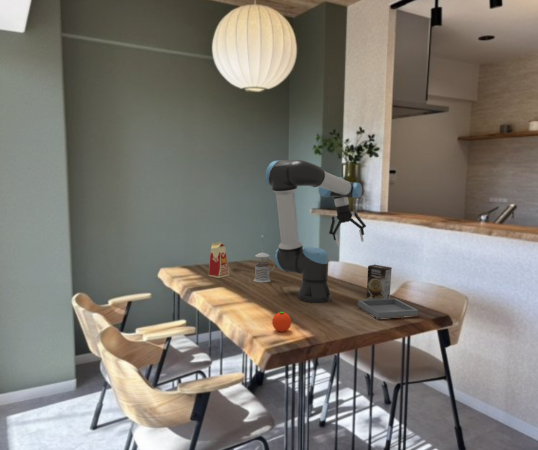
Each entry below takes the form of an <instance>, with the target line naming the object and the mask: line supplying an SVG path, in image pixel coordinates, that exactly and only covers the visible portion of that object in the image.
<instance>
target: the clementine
mask: <svg viewBox="0 0 538 450" xmlns="http://www.w3.org/2000/svg"><path fill="white" fill-rule="evenodd" d="M271 321H272V323H271V324H272V327H273V328H274V330H275V331H277V332H279V333H280V332H281V333H282V332H283V333H284V332H286V331H288V330H289V329H290V328H291V325H292V319H291V317H290V316H289V314H288V313H286V312H284V311H279V312H277V313H275V315H274V316H273V317H272V320H271Z"/></svg>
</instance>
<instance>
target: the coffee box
mask: <svg viewBox="0 0 538 450" xmlns="http://www.w3.org/2000/svg"><path fill="white" fill-rule="evenodd" d="M366 281H367V282H366V283H367V285H366V298H365V300H375V299H391V298H390V297H391V285H392V267H390V266H386V265H385V266H384V265H379V264H371V265H368V266H367V279H366Z"/></svg>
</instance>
